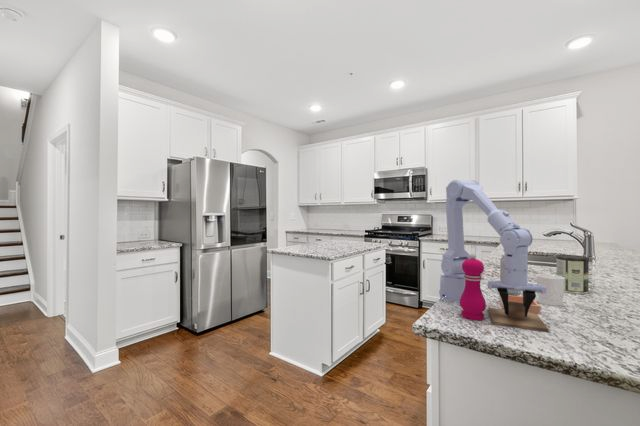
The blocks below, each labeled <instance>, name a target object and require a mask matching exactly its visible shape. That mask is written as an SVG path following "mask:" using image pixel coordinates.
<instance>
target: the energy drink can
mask: <svg viewBox="0 0 640 426" xmlns="http://www.w3.org/2000/svg"><path fill="white" fill-rule="evenodd" d="M499 262H500V263H499V264H500V265H499V267H500V270H499V271H500V273H499V276H500V278H499V281H505V254H502V256H501V258H500V260H499ZM507 291H508V294H509V295H511V296H517V294H518V293H519V291H516V290H507Z"/></svg>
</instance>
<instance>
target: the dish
mask: <svg viewBox="0 0 640 426" xmlns="http://www.w3.org/2000/svg"><path fill="white" fill-rule="evenodd" d="M498 294H499V293H498ZM498 297H499V303H500V305H501V307H502V308H501V309H504V305H503V302H502V299H501V297H500V294H499V296H498ZM535 299H536V298H535ZM535 299H534V301H533V302H532V304H531V305H530V308H529V310H528V312H529V313H537V315H541V306H540V304H539V302H538V301H536V300H535ZM508 301H510V302H519V303H523V296H519V295H508Z"/></svg>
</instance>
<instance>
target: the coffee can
mask: <svg viewBox="0 0 640 426" xmlns="http://www.w3.org/2000/svg"><path fill="white" fill-rule="evenodd" d="M555 257H556V264H555V265H556V274H555V275H558V276H562V277H565V285H564V293H568V294H569V293H570V294H575V295H576V294H577V295H588V294H589V293H590V292H589V262H590V261H589V260H590V257H588V256H583V255H576V254H557V255H555Z"/></svg>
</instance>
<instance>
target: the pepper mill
mask: <svg viewBox="0 0 640 426" xmlns="http://www.w3.org/2000/svg"><path fill="white" fill-rule="evenodd" d="M469 255H470V259H467V260H465V261H464V262H463V264H462V269H463V271H464V272H465V274H464V279H465V289H464V291H463V294H462V296H461V298H460V302H459V306H460V308H461V309H462V310H461V313H460V314H461V315H460V316H461V317H463V318H464V319H467V320H471V321H483V320H484V319H485V314H484V311H486V310H487V305H486V304H487V303H486V300H485V297H484V294H483V292H482V289H481V281H482V280H483V279H482V277H483V276H482V274H483V272H484V270H485V267H484V263H483V262H482V261H480V260H479V259H477V255H476V253H475V254H474V253H470V254H469Z"/></svg>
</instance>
